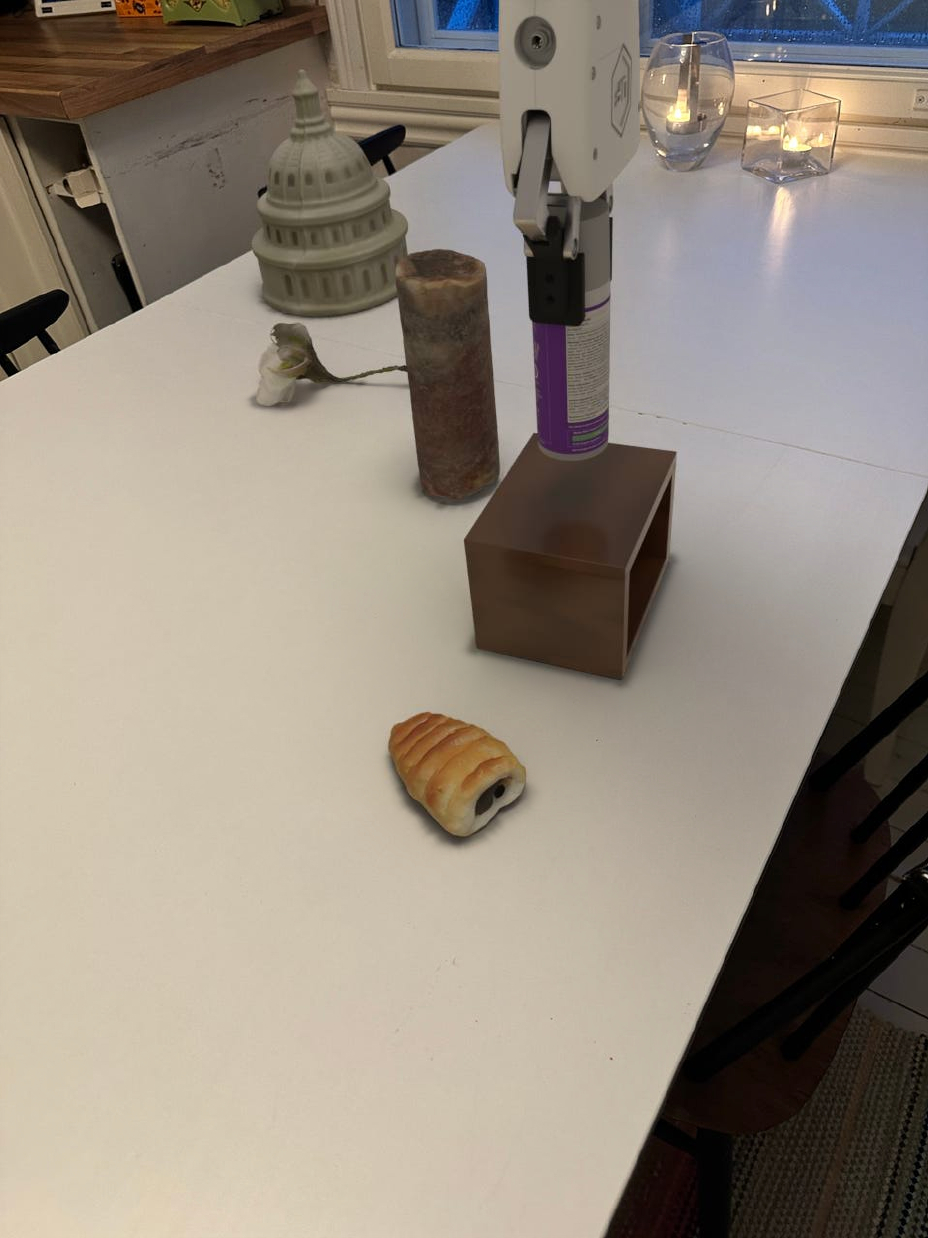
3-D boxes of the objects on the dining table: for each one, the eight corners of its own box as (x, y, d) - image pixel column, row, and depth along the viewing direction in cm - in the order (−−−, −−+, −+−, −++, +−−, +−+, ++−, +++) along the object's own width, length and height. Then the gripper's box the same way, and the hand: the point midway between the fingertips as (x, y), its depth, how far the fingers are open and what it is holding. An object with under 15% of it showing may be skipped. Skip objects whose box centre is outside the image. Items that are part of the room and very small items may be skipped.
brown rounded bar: (468, 450, 88) (446, 238, 75) (519, 479, 84) (506, 259, 71) (404, 483, 85) (370, 267, 72) (454, 515, 81) (428, 291, 67)
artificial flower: (455, 419, 96) (426, 344, 88) (263, 432, 103) (220, 364, 95) (469, 359, 100) (443, 282, 92) (284, 375, 107) (245, 305, 99)
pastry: (365, 766, 61) (356, 727, 58) (442, 710, 64) (436, 671, 61) (461, 852, 55) (455, 813, 53) (540, 786, 58) (538, 746, 56)
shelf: (669, 559, 74) (677, 451, 67) (621, 680, 64) (625, 568, 58) (538, 536, 77) (533, 432, 71) (475, 648, 68) (463, 539, 61)
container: (525, 436, 63) (513, 206, 53) (587, 417, 64) (585, 188, 54) (557, 468, 59) (550, 229, 49) (621, 448, 60) (627, 210, 50)
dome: (322, 42, 116) (423, 58, 104) (356, 243, 133) (446, 277, 120) (180, 79, 107) (271, 101, 95) (235, 290, 124) (318, 332, 112)
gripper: (590, -53, 36) (591, 375, 48) (687, -106, 47) (668, 252, 59) (416, -43, 39) (458, 361, 51) (547, -96, 50) (556, 246, 62)
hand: (571, 299), depth 55 cm, fingers closed on container, 4 cm apart
